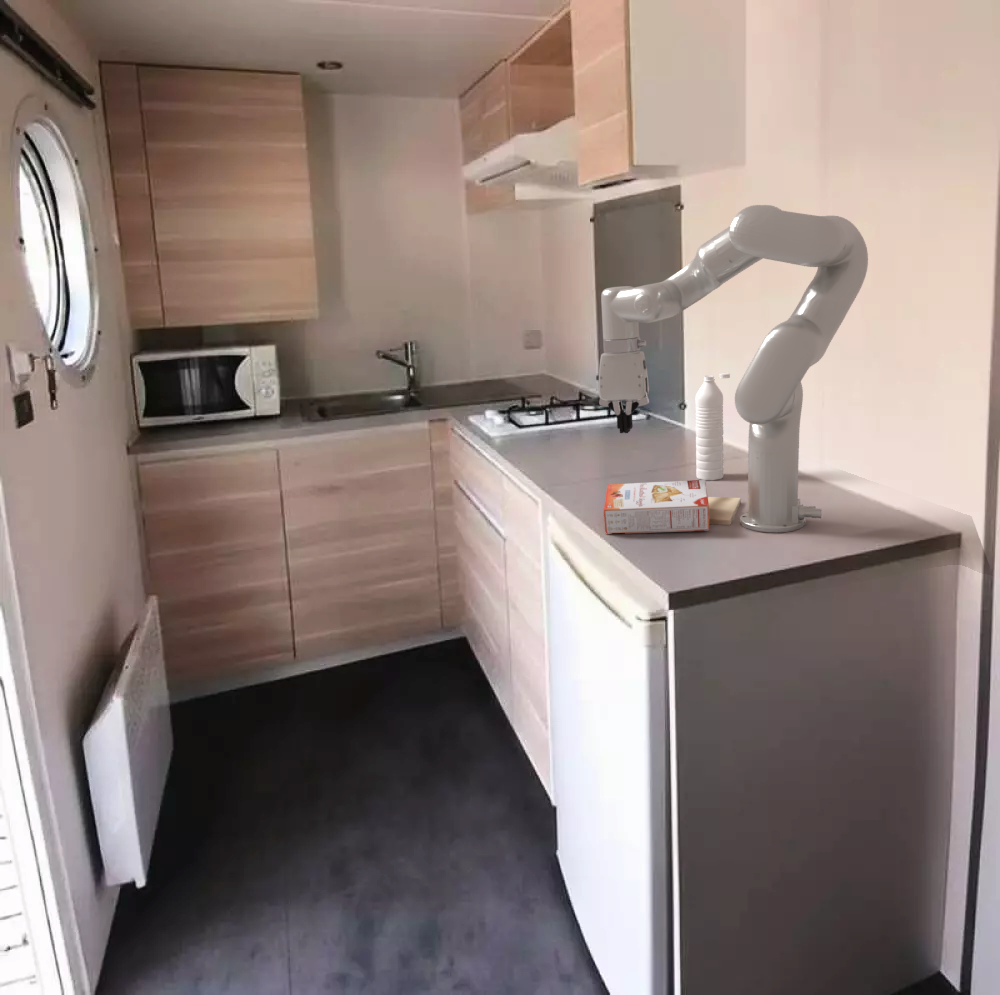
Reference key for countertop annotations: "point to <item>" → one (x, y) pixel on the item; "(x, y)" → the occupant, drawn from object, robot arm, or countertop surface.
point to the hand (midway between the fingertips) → (625, 431)
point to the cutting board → (722, 509)
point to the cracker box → (656, 507)
